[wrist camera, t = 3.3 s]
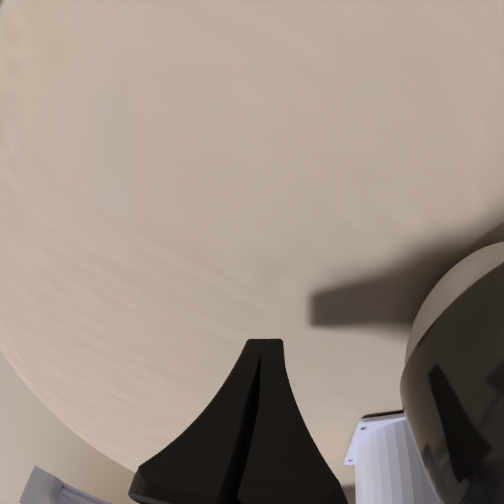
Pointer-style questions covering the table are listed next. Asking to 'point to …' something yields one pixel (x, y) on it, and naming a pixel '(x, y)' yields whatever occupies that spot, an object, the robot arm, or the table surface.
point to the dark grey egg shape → (460, 381)
